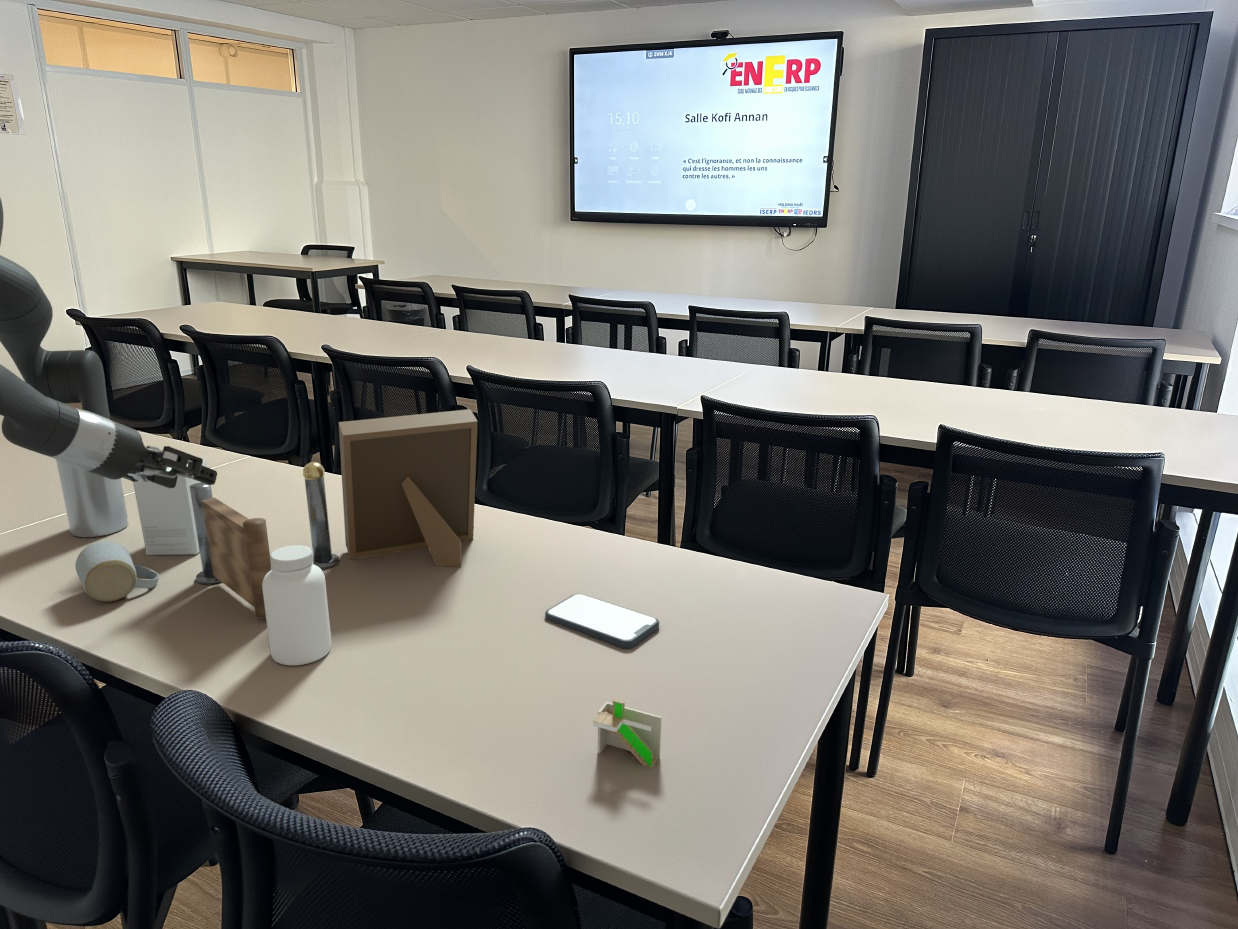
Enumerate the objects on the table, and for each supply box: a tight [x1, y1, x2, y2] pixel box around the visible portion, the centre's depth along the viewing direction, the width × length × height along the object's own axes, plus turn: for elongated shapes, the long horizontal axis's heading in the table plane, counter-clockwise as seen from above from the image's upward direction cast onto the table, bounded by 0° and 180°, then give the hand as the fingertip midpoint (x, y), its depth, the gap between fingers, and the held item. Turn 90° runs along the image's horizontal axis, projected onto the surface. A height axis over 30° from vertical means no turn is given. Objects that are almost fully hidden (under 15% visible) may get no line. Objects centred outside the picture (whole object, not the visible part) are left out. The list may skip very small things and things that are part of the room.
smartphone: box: [544, 593, 660, 650], centre depth 127 cm, size 9×2×16 cm
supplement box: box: [132, 458, 207, 556], centre depth 149 cm, size 9×9×15 cm
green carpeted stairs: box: [592, 699, 662, 769], centre depth 95 cm, size 4×7×8 cm, turn 66°
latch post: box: [302, 461, 340, 570], centre depth 142 cm, size 5×5×18 cm
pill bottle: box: [262, 544, 332, 666], centre depth 115 cm, size 8×8×15 cm
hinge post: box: [190, 482, 222, 585], centre depth 137 cm, size 5×5×16 cm
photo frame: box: [338, 408, 479, 568], centre depth 144 cm, size 15×22×25 cm
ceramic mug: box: [74, 540, 160, 603], centre depth 133 cm, size 11×8×8 cm
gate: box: [201, 496, 271, 619], centre depth 129 cm, size 18×3×14 cm, turn 46°
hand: (194, 480), depth 128 cm, fingers open, 8 cm apart
